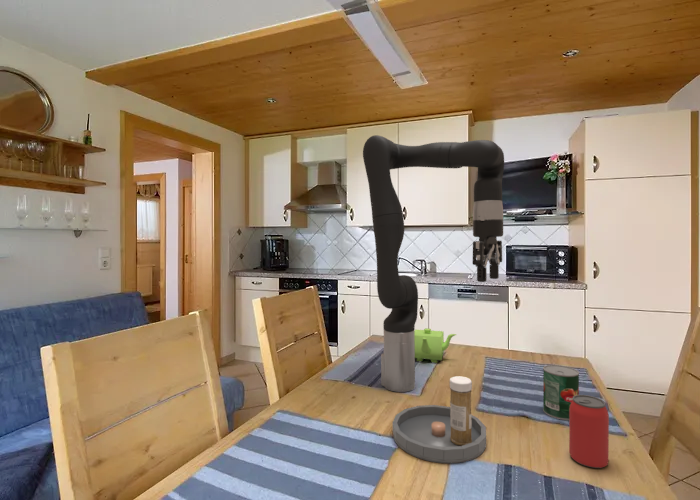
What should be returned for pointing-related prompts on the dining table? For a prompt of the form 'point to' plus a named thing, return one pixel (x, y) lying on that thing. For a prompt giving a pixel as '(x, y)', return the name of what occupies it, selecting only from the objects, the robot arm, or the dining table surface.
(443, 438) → the grey round tray
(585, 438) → the beer can
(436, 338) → the kettle
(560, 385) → the canned tomato
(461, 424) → the sprinkles bottle
